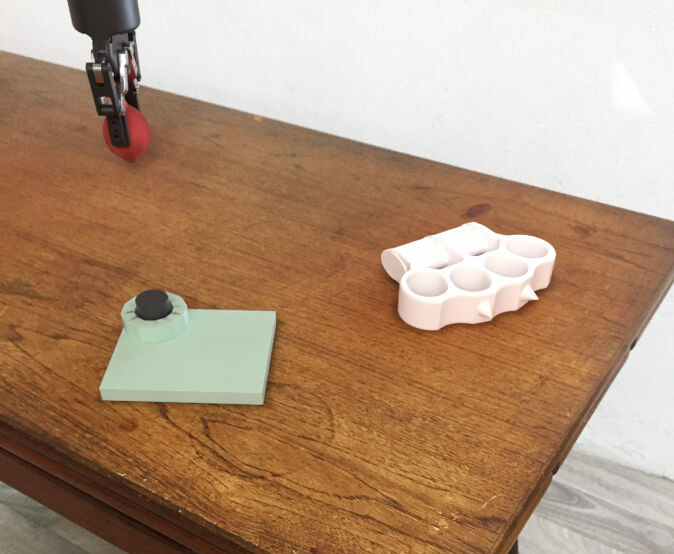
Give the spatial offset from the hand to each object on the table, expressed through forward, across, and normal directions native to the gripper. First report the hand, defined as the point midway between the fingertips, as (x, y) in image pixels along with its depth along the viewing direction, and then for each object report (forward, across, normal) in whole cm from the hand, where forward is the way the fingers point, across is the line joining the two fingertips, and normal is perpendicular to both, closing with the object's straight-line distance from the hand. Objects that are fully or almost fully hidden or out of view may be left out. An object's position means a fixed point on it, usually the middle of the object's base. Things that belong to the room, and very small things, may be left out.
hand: (127, 134), depth 93 cm
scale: (+4, -39, -14) cm, 41 cm away
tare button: (+2, -35, -10) cm, 36 cm away
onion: (+4, 0, 0) cm, 4 cm away
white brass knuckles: (+4, -26, -40) cm, 48 cm away
